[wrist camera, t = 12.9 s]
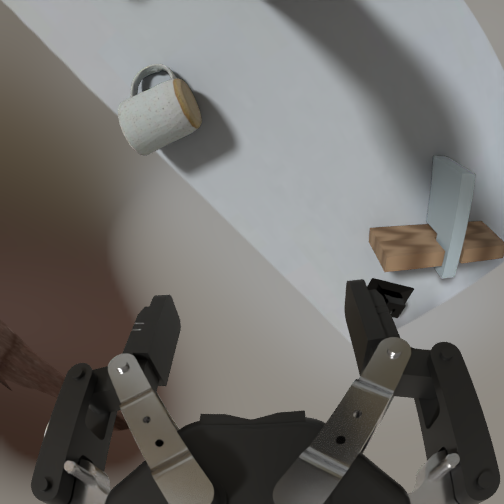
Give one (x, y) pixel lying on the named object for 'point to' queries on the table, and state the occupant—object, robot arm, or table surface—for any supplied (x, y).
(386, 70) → the table surface
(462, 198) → the blue grey block
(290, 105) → the table surface
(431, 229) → the brown wooden board
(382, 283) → the black plastic bracket
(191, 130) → the ceramic mug
